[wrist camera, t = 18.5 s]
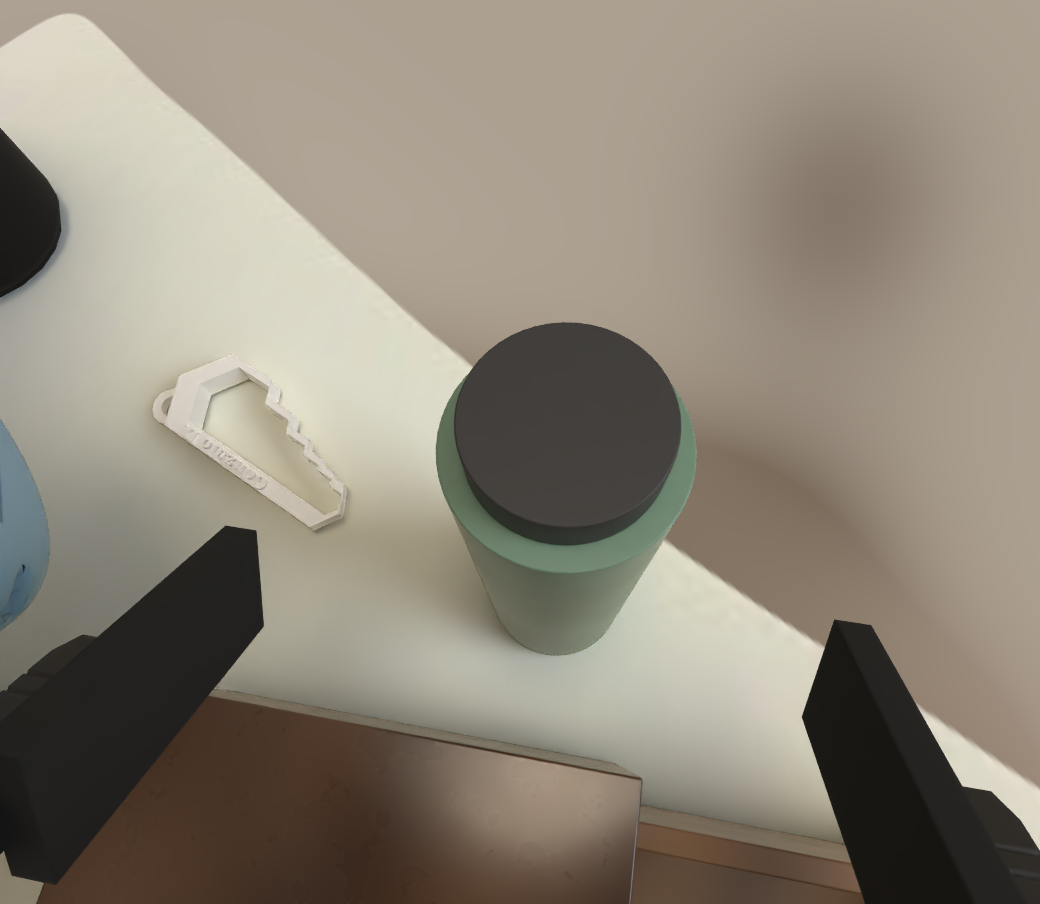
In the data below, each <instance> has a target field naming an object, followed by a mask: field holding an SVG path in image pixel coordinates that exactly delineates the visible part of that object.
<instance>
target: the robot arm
mask: <svg viewBox="0 0 1040 904" xmlns="http://www.w3.org/2000/svg"><path fill="white" fill-rule="evenodd" d="M48 561H49V530H48V524H47V519H46V515H45V511H44V507H43V503H42V500H41V497H40V494H39V492H38V489H37V487H36V484H35V482H34V479H33V477H32V474H31V472H30V470H29V468H28V466H27V464H26V462H25V460H24V458H23V456H22V455H21V453H20V451H19V449H18V447H17V445H16V443H15V442H14V440H13V438H12V437H11V435H10V433H9V432H8V430H7V428H6V427H5V425H4V423H3V422H2V420H1V419H0V631H1V630H2V629H4V628H5V627H6V626H7V625H9V624H10V623H11V622H13V621H14V620H15V619H16V618H17V617H18V616H19V615H20V614H21V613H22V612H23V611H24V610H25V609H26V608H27V607H28V606H29V605H30V603H31V602H32V601H33V599H34V597H35V596H36V594H37V592H38V591H39V589H40V587H41V585H42V582H43V580H44V577H45V575H46V570H47V566H48ZM263 627H264V621H263V608H262V596H261V583H260V570H259V557H258V544H257V532H256V530H250V529H244V528H237V527H231V526H225V527H224V528H222V529H221V530H220V531H219V532H218V533H217V534H215V535H214V536H213V537H212V538H211V539H210V540H209V541H207V542H206V543H205V544H204V545H203V546H202V547H201V548H199V549H198V550H197V551H196V552H195V553H194V554H192V555H191V556H190V557H189V558H188V559H187V560H186V561H184V562H183V563H182V564H181V565H180V566H179V567H178V568H176V569H175V570H174V571H173V572H172V573H171V574H170V575H168V576H167V577H166V578H165V579H164V580H163V581H161V582H160V583H159V584H158V585H157V586H156V587H155V588H153V589H152V590H151V591H150V592H149V593H148V594H147V595H145V596H144V597H143V598H142V599H141V600H140V601H138V602H137V603H136V604H135V605H134V606H133V607H132V608H130V609H129V610H128V611H127V612H126V613H125V614H124V615H122V616H121V617H120V618H119V619H118V620H117V621H116V622H114V623H113V624H112V625H111V626H110V627H109V628H107V629H106V630H105V631H104V632H103V633H102V634H101V635H99V636H98V637H93V636H88V635H81V636H79V637H77V638H75V639H73V640H71V641H69V642H67V643H65V644H63V645H61V646H59V647H57V648H55V649H53V650H52V651H51V652H49V653H48V654H47V655H46V656H44V657H43V658H42V659H41V660H40V661H38V662H37V663H36V664H35V665H34V666H32V667H31V668H30V669H29V670H28V673H27V674H23V675H21V676H20V677H19V678H18V679H17V680H15V681H14V682H13V683H12V684H10V685H9V686H8V689H7V691H4V690H3V691H2V692H1V693H0V854H1V853H2V852H3V851H4V852H5V856H6V859H7V862H8V865H9V868H10V871H11V874H12V876H16V877H20V878H25V879H30V880H34V881H39V882H44V883H48V884H53V885H57V883H58V882H59V881H60V880H61V878H62V877H63V876H64V875H65V873H66V872H67V871H68V870H69V868H70V867H71V866H72V865H73V863H74V862H75V861H76V860H77V858H78V857H79V856H80V855H81V853H82V852H83V851H84V850H85V848H86V847H87V846H88V845H89V843H90V842H91V841H92V840H93V838H94V837H95V836H96V835H97V834H98V832H99V831H100V830H101V829H102V827H103V826H104V825H105V824H106V822H107V821H108V820H109V819H110V817H111V816H112V815H113V814H114V812H115V811H116V810H117V809H118V807H119V806H120V805H121V804H122V802H123V801H124V800H125V799H126V797H127V796H128V795H129V794H130V792H131V791H132V790H133V789H134V787H135V786H136V785H137V784H138V782H139V781H140V780H141V779H142V777H143V776H144V775H145V774H146V772H147V771H148V770H149V769H150V767H151V766H152V765H153V764H154V763H155V761H156V760H157V759H158V758H159V756H160V755H161V754H162V753H163V751H164V750H165V749H166V748H167V746H168V745H169V744H170V743H171V741H172V740H173V739H174V738H175V736H176V735H177V734H178V733H179V731H180V730H181V729H182V728H183V726H184V725H185V724H186V723H187V721H188V720H189V719H190V718H191V716H192V715H193V714H194V713H195V711H196V710H197V709H198V708H199V706H200V705H201V704H202V703H203V701H204V700H205V699H206V698H207V696H208V695H209V694H210V693H211V692H212V690H213V689H214V688H215V687H216V685H217V684H218V683H219V682H220V680H221V679H222V678H223V677H224V675H225V674H226V673H227V672H228V670H229V669H230V668H231V667H232V665H233V664H234V663H235V662H236V660H237V659H238V658H239V657H240V655H241V654H242V653H243V652H244V650H245V649H246V648H247V647H248V645H249V644H250V643H251V642H252V640H253V639H254V638H255V637H256V635H257V634H258V633H259V632H260V630H261V629H262V628H263ZM802 719H803V722H804V725H805V728H806V731H807V734H808V737H809V740H810V743H811V746H812V748H813V751H814V754H815V757H816V760H817V763H818V766H819V769H820V772H821V775H822V778H823V781H824V784H825V787H826V790H827V793H828V796H829V799H830V802H831V805H832V808H833V811H834V814H835V816H836V819H837V822H838V825H839V828H840V831H841V834H842V837H843V840H844V843H845V846H846V849H847V852H848V855H849V858H850V861H851V864H852V867H853V870H854V873H855V876H856V879H857V881H858V884H859V887H860V890H861V893H862V896H863V899H864V902H865V904H1040V850H1039V849H1038V847H1037V846H1036V844H1035V842H1034V841H1033V839H1032V838H1031V836H1030V834H1029V833H1028V831H1027V830H1026V828H1025V826H1024V825H1023V823H1022V822H1021V820H1020V819H1019V818H1018V817H1017V816H1016V815H1015V814H1014V813H1013V812H1012V811H1011V810H1010V809H1009V808H1007V807H1006V806H1005V805H1004V804H1003V803H1002V802H1001V801H1000V800H999V799H998V798H997V797H996V796H995V795H994V794H993V793H992V792H991V791H986V790H980V789H974V788H969V787H963V786H962V785H961V783H960V781H959V780H958V778H957V776H956V774H955V773H954V771H953V769H952V767H951V766H950V764H949V762H948V760H947V758H946V757H945V755H944V753H943V751H942V750H941V748H940V746H939V744H938V743H937V741H936V739H935V737H934V735H933V734H932V732H931V730H930V728H929V727H928V725H927V723H926V721H925V720H924V718H923V716H922V714H921V712H920V711H919V709H918V707H917V705H916V704H915V702H914V700H913V698H912V697H911V695H910V693H909V691H908V689H907V688H906V686H905V684H904V682H903V681H902V679H901V677H900V675H899V673H898V672H897V670H896V668H895V666H894V665H893V663H892V661H891V659H890V658H889V656H888V654H887V652H886V651H885V649H884V647H883V645H882V644H881V642H880V640H879V638H878V636H877V635H876V633H875V631H874V629H873V628H872V626H871V625H866V624H860V623H853V622H847V621H840V620H834V622H833V625H832V628H831V631H830V634H829V637H828V640H827V643H826V646H825V649H824V652H823V655H822V658H821V661H820V664H819V667H818V670H817V673H816V676H815V679H814V682H813V685H812V688H811V691H810V694H809V697H808V700H807V703H806V706H805V709H804V712H803V715H802Z"/></svg>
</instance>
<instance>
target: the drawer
mask: <svg viewBox="0 0 1040 904" xmlns="http://www.w3.org/2000/svg"><path fill="white" fill-rule="evenodd" d="M631 904H865V902H864V899H863V896H862V893H861V890H860V887H859V884H858V881H857V879H856V876H855V873H854V870H853V867H852V864H851V861H850V858H849V855H848V852H847V849H846V846H845V845H844V844H838V843H833V842H828V841H823V840H818V839H813V838H808V837H803V836H797V835H792V834H787V833H782V832H777V831H772V830H767V829H761V828H756V827H751V826H746V825H741V824H736V823H731V822H725V821H720V820H715V819H710V818H705V817H700V816H695V815H689V814H684V813H679V812H674V811H669V810H664V809H659V808H654V807H648V806H643V805H640V815H639V826H638V837H637V848H636V859H635V870H634V881H633V892H632V903H631Z"/></svg>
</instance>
